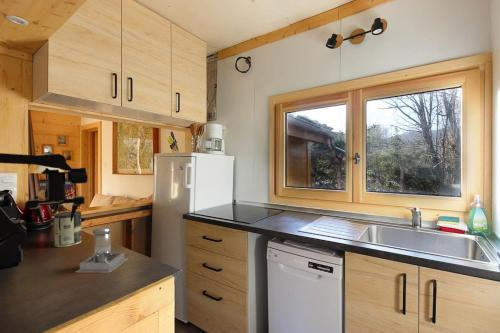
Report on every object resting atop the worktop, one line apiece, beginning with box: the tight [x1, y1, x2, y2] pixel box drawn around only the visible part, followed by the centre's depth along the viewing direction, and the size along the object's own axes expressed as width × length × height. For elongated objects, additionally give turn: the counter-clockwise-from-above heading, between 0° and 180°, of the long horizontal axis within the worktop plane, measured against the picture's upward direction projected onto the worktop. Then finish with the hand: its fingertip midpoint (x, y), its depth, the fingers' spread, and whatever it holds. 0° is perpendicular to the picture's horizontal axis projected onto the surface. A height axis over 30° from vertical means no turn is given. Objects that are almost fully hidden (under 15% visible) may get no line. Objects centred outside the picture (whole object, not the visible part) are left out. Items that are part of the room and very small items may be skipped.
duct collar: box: [74, 252, 129, 274], centre depth 90 cm, size 12×12×3 cm
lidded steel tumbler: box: [92, 226, 113, 262], centre depth 90 cm, size 6×6×13 cm
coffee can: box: [53, 210, 82, 248], centre depth 114 cm, size 10×10×14 cm
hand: (57, 222), depth 100 cm, fingers open, 9 cm apart
